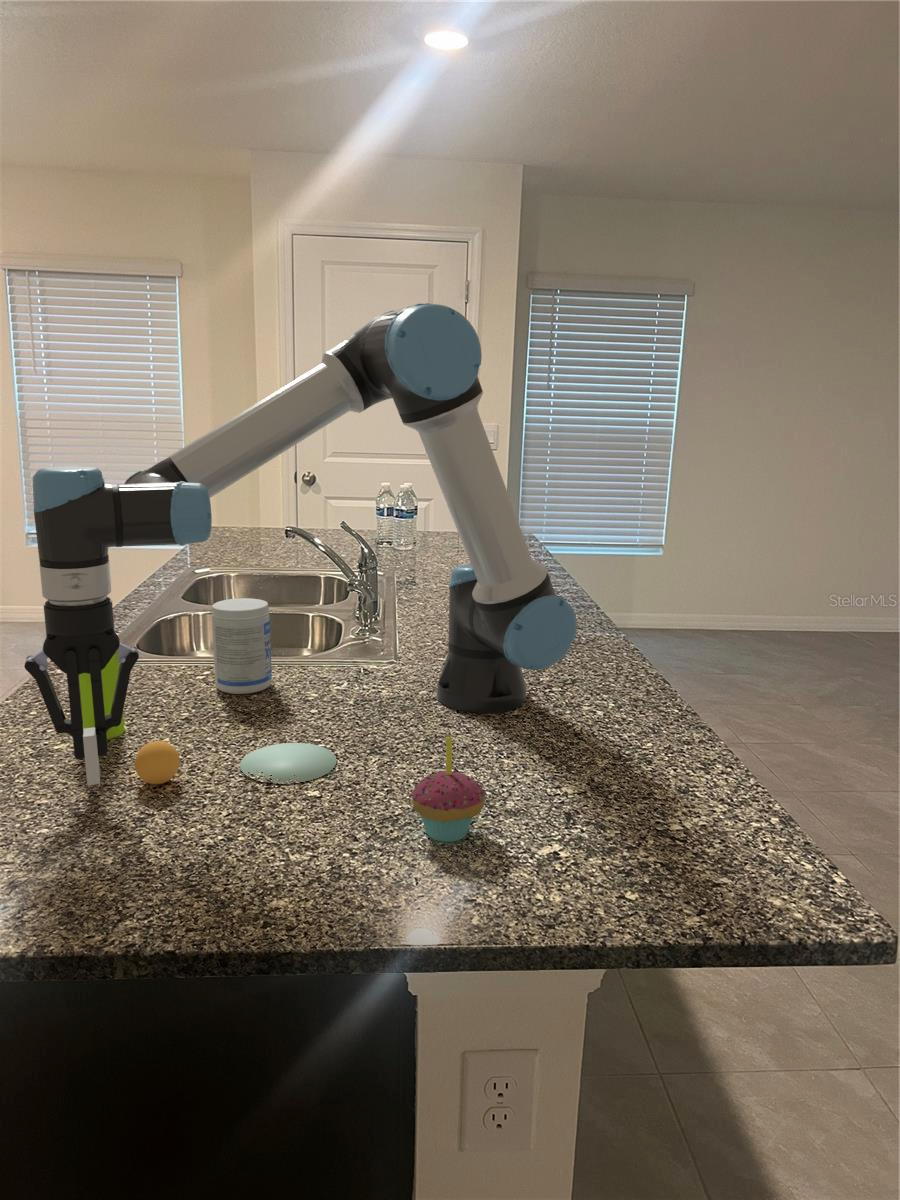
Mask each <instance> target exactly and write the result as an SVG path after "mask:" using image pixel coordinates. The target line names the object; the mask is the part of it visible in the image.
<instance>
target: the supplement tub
mask: <svg viewBox="0 0 900 1200" xmlns="http://www.w3.org/2000/svg"><path fill="white" fill-rule="evenodd" d="M211 609H212V611H211V629H212V643H213V645H212V646H213V662H214V663H213V664H214V679H215V681H214V683H215V686H216V688H217V689H218V690H219V691H221V692H224V693H226V694H232V695H233V694H234V695H247V694H254V693H258V692H262V691H264V690H265V689H268V688H269V687H270V686H271V685H272V682H273V673H272V672H273V671H272V669H273V667H272V646H271V644H272V643H271V641H272V640H271V619H270V618H271V617H270V610H269V603H268V601H266V600H263V599H258V598H250V597H249V598H248V597H247V598H246V597H245V598H244V597H243V598H230V599H229V598H228V599H223V600H220V601H216V602H215V603H213V604H212V608H211Z"/></svg>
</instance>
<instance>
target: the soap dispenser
mask: <svg viewBox="0 0 900 1200" xmlns="http://www.w3.org/2000/svg"><path fill="white" fill-rule="evenodd" d="M119 666H120V662H119V661H118V652H117V651H116V652H115V654H114V655H113V657H112V658H111V659H110V661H109V662H108V664H107V665H106V667H105V668H104V669H103V670H101V674H102V686H103V698H104V710H105V716H107V715H109V714H110V713H111V708H112V703H113V698H114V692H115V687H116V682H117V677H118V671H119ZM79 683H80V694H81V706H82V718H83V729H85V728H93V727H95V721H94V710H93V698H92V687H91V677H90V674H88V673H83V674H80V675H79ZM124 732H125V719H124V713H123V714H122V719H121V724H120V725H119V726H117V727H112V728H110V729H108V730H107V733H106V734H107V740H109V739H110V740H111V739H114V738H117V737H120V736H121V735H122V734H124Z"/></svg>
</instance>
